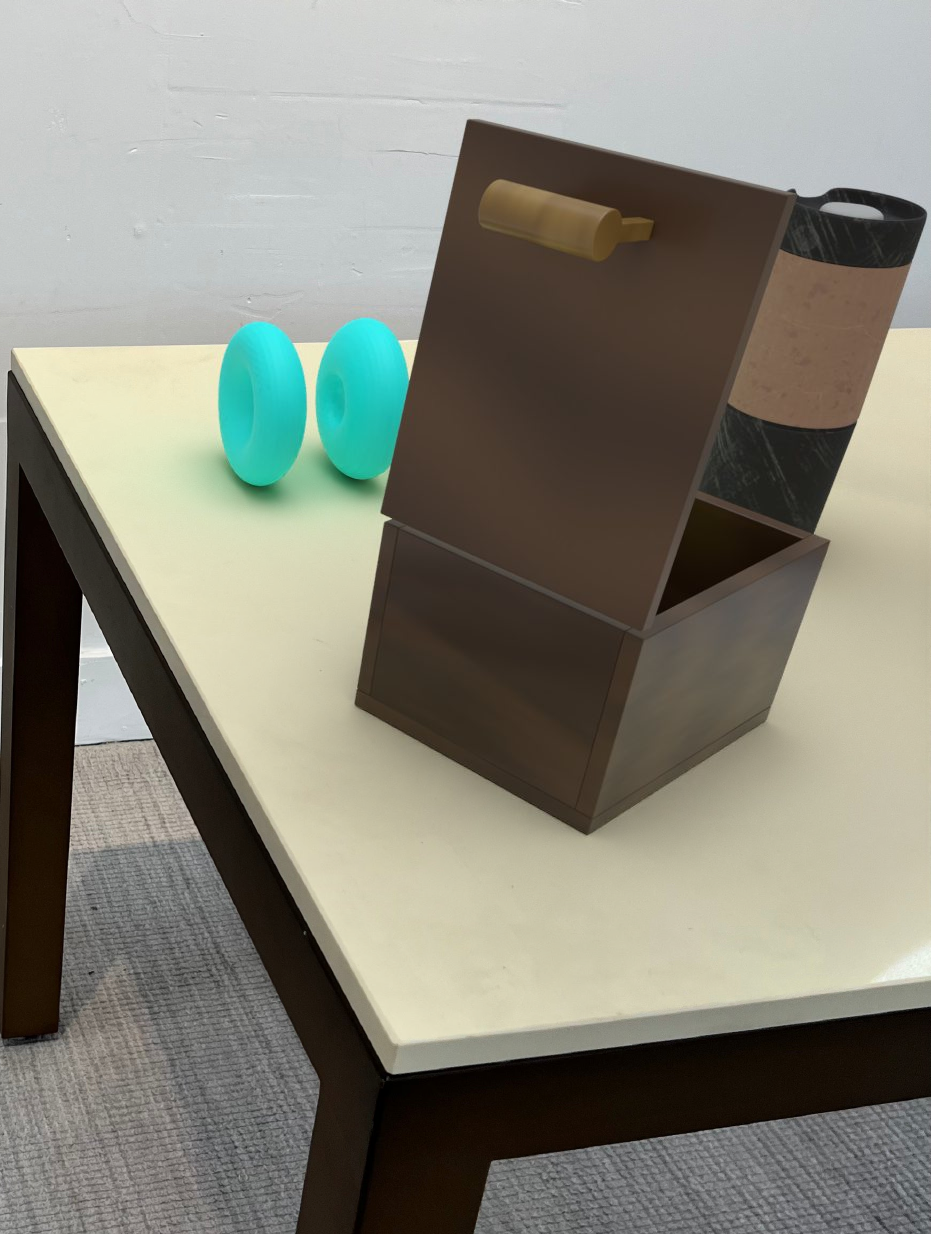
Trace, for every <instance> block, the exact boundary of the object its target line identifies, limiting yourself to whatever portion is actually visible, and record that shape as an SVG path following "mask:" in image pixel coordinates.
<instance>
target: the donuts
mask: <svg viewBox="0 0 931 1234" xmlns="http://www.w3.org/2000/svg"><path fill="white" fill-rule="evenodd" d="M402 348H403V347H402V346H401V344H400V341H399V340H398V338H397V336H396V335H395V333H394V332H393V331H392V330H391V329H390V328H389V326H388V325H386V324H385V323H384V322H382V321H380V320H378V319H375V318H371V317H359V318H356V319H352V320H350V321H349V322H346V323H345V324H344V325H342V326H341V327H340V328H339V329H338V330H337V331H336V332H335V333H334V334H333V336H332V337H331V338H330V340H329V342H328V343H327V345H326V347H325V350H324V351H323V354H322V357H321V359H320V363H319V367H318V371H317V375H316V376H317V377H316V382H315V395H314V396H315V397H314V398H315V399H314V402H315V403H314V404H315V418H316V425H317V431H318V433H319V434H318V435H319V437H320V440H321V443H322V446H323V449H324V451H325V453H326V455H327V457H328V459H329V460H330V462H331V463H332V464H333V466H334V467H335V468H336V469H338V471H340V473H342V474H343V475H345V476H347V477H349V478H352V479H354V480H355V479H356V480H362V481H363V480H370V479H374V478H376V477H379V476H381V475H382V474H384V473H385V472H386V471H387V470H388V469H390V466H391V462H392V457H393V453H394V448H395V444H396V439H397V434H398V430H399V425H400V421H401V416H402V412H403V407H404V403H405V398H406V394H407V389H408V385H409V380H410V376H409V370H408V366H407V365H408V364H407V361H406V358H405V354H404V351H403V349H402ZM222 357H223V358H222V363H221V366H220V371H219V376H218V377H219V378H218V390H217V391H218V392H217V397H218V399H217V403H218V404H217V411H218V423H219V424H218V425H219V430H220V437H221V442H222V445H223V449H224V453H225V455H226V459H227V461H228V463H229V465H230V467H231V469H232V470H233V472H234V473H235V474H236V475H237V476H238V478H240V479H241V480H242V481H243V482H245V483H247V484H249V485H251V486H256V487H265V486H268V485H273V484H274V483H276V482H278V481H279V480H281V479H282V478H284V476H285V475H286V474H288V472H289V471H290V470H291V468H292V467H293V465H294V463H295V462H296V459H297V458H298V455H299V453H300V451H301V448H302V444H303V441H304V438H305V432H306V431H305V430H306V425H307V415H308V414H307V413H308V395H307V393H308V392H307V386H306V385H307V384H306V377H305V372H304V368H303V365H302V360H301V359H300V358H301V357H300V356H299V354H298V351H297V348H296V347H295V345H294V343H293V342H292V340H291V339H290V337H289V336H288V335H287V334H286V333H285V332H284V331H283V330H282V329H280V327H278V326H277V325H274V324H272V323H271V322H266V321H252V322H250V323H249V322H248V323H247V324H245V325H244V326H242V327H240V328H239V329H238V330H237V331H236V332H235V333H234V334H233V336H232V337H231V339H229V342H228V344H227V346H226V348H225V352H224V354H223V356H222Z"/></svg>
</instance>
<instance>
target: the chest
mask: <svg viewBox="0 0 931 1234" xmlns="http://www.w3.org/2000/svg"><path fill="white" fill-rule="evenodd" d="M830 544H831V540H830V539H828V538H826V537H822V536H820V535H817V534H815V533H814V534H811V533H809V532H806V531H803V530H801V529H798V528H796V527H793V526H790V525H788V524H785V523H782V522H780V521H777V520H774V519H772V518H769V517H767V516H764V515H761V514H759V513H756V512H753V511H751V510H748V509H745V508H743V507H740V506H737V505H735V504H732V503H730V502H727V501H724V500H722V499H719V498H716V497H714V496H711V495H708V494H706V493H703V492H700V491H697V494H696V497H695V500H694V503H693V506H692V509H691V512H690V515H689V518H688V521H687V524H686V527H685V530H684V532H683V535H682V538H681V541H680V544H679V547H678V550H677V553H676V556H675V559H674V562H673V565H672V568H671V571H670V574H669V577H668V580H667V583H666V586H665V589H664V592H663V595H662V597H661V600H660V603H659V606H658V609H657V612H656V615H655V618H654V621H653V624H652V627H651V628H650V629H647V630H645V631H639V630H636V629H634V628H632V627H630V626H628V625H625V624H623V623H621V622H619V621H617V620H614V619H612V618H610V617H608V616H606V615H603V614H601V613H599V612H597V611H595V610H592V609H590V608H588V607H586V606H583V605H581V604H579V603H577V602H575V601H572V600H570V599H568V598H566V597H564V596H561V595H559V594H557V593H555V592H553V591H550V590H548V589H546V588H544V587H542V586H539V585H537V584H535V583H533V582H531V581H528V580H526V579H524V578H522V577H520V576H517V575H515V574H513V573H511V572H509V571H506V570H504V569H502V568H500V567H498V566H495V565H493V564H491V563H489V562H486V561H484V560H482V559H480V558H478V557H475V556H473V555H471V554H469V553H467V552H464V551H462V550H460V549H458V548H456V547H453V546H451V545H449V544H447V543H445V542H442V541H440V540H438V539H436V538H434V537H431V536H429V535H427V534H425V533H423V532H420V531H418V530H416V529H414V528H412V527H409V526H407V525H405V524H403V523H400V522H398V521H396V520H394V519H392V518H390V519H388V520H384V522H383V526H382V532H381V538H380V544H379V551H378V557H377V563H376V569H375V575H374V580H373V581H374V582H373V586H372V593H371V599H370V605H369V611H368V619H367V623H366V624H367V625H366V630H365V636H364V642H363V647H362V654H361V659H360V660H361V661H360V667H359V673H358V679H357V686H356V691H355V698H354V705H355V706H357V707H359V708H361V709H363V710H364V711H366V712H368V713H369V714H371V715H373V716H374V717H376V718H378V719H380V720H381V721H383V722H386V723H387V724H389V725H391V726H392V727H395V728H396V729H398V730H400V731H401V732H404V733H405V734H407V735H409V736H411V737H412V738H414V739H416V740H418V741H420V742H421V743H423V744H425V745H426V746H428V747H430V748H432V749H434V750H435V751H437V752H439V753H440V754H443V755H445V756H446V757H448V758H449V759H452V760H453V761H455V762H457V763H458V764H460V765H462V766H464V767H466V768H467V769H469V770H471V771H472V772H475V773H476V774H478V775H480V776H482V777H483V778H485V779H487V780H489V781H490V782H492V783H495V784H496V785H497V786H499V787H502V788H503V789H505V790H507V791H509V792H510V793H512V794H514V795H516V796H517V797H519V798H521V799H523V800H524V801H526V802H529V804H532V805H533V806H535V807H536V808H539V809H541V810H542V811H544V812H546V813H548V814H549V815H551V816H553V817H555V818H557V819H558V820H560V821H562V822H564V823H566V824H567V825H569V826H571V827H572V828H575V830H578V831H579V832H582V833H583V834H585V835H590V834H591V833H592V832H594V831H596V830H597V829H598V828H600V827H602V826H603V825H605V824H606V823H608V822H610V821H612V819H614V818H616V817H618V816H619V815H620V814H622V813H624V812H625V811H627V810H628V809H629V808H631V807H633V806H635V804H638V803H639V802H641V801H642V800H644V799H645V798H647V797H648V796H650V795H652V794H653V793H655V792H656V791H657V790H660V789H661V788H663V787H664V786H666V785H667V784H669V783H670V782H672V781H674V780H675V779H677V778H678V777H679V776H681V775H683V774H684V773H686V772H687V771H689V770H690V769H692V768H694V767H695V766H697V765H698V764H700V763H702V762H703V761H704V760H706V759H708V758H709V757H710V756H712V755H714V754H716V753H717V752H719V751H720V750H722V749H724V747H726V746H728V745H730V744H732V743H733V742H735V741H736V740H738V739H739V738H740V737H742V736H744V735H745V734H747V733H748V732H750V731H751V730H753V729H754V728H756V727H757V726H759V725H761V724H762V723H763V722H765V721H767V720H768V717H769V714H770V711H771V709H772V705H773V704H774V701H775V698H776V695H777V692H778V689H779V687H780V684H781V681H782V678H783V676H784V673H785V670H786V667H787V664H788V661H789V659H790V656H791V653H792V652H793V651H792V650H793V647H794V645H795V642H796V639H797V636H798V633H799V631H800V628H801V625H802V623H803V621H804V620H803V619H804V617H805V615H806V611H807V609H808V605H809V603H810V600H811V598H812V594H813V591H814V590H815V586H816V583H817V580H818V578H819V575H820V572H821V570H822V567H823V563H824V561H825V558H826V555H827V553H828V550H829V547H830Z"/></svg>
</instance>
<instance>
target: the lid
mask: <svg viewBox="0 0 931 1234" xmlns="http://www.w3.org/2000/svg"><path fill="white" fill-rule="evenodd" d="M796 193H797V192H796ZM796 193H791V192H787V190H783V189H779V188H778V189H777V188H775V187H774V188H773V187H770V186H766V185H761V184H757V183H753V182H748V181H744V180H739V179H735V178H732V177H727V176H723V175H719V174H714V173H710V172H705V171H703V170H702V171H701V170H697V169H693V168H689V167H685V166H680V165H676V164H671V163H668V162H664V161H659V160H655V159H650V158H646V157H642V156H638V155H634V154H629V153H624V152H620V151H617V150H612V149H608V148H604V147H600V146H595V145H592V144H587V143H583V142H578V141H574V140H570V139H565V138H561V137H557V136H553V135H550V134H549V135H548V134H544V133H539V132H535V131H531V130H528V129H523V128H518V127H515V126H510V125H506V124H501V123H499V122H498V123H497V122H494V121H488V120H484V119H480V118H468V119H467V120H466V122H465V127H464V132H463V136H462V140H461V144H460V149H459V154H458V158H457V164H456V168H455V172H454V177H453V181H452V185H451V190H450V194H449V199H448V204H447V208H446V213H445V217H444V222H443V226H442V231H441V236H440V240H439V244H438V249H437V253H436V258H435V262H434V267H433V271H432V276H431V281H430V285H429V290H428V293H427V299H426V303H425V309H424V312H423V318H422V322H421V325H420V326H421V327H420V331H419V334H418V335H419V336H418V340H417V345H416V348H415V353H414V358H413V363H412V367H411V371H410V376H409V385H408V389H407V394H406V398H405V403H404V407H403V412H402V416H401V421H400V425H399V430H398V434H397V439H396V444H395V448H394V453H393V457H392V462H391V466H390V467H389V472H388V476H387V480H386V484H385V488H384V489H385V490H384V494H383V499H382V503H381V506H380V507H381V508H380V514H381V515H383V516H385V517H387V518H390V519H394V520H396V521H398V522H400V523H403V524H405V525H407V526H409V527H412V528H414V529H416V530H418V531H420V532H423V533H425V534H427V535H429V536H431V537H434V538H436V539H438V540H440V541H442V542H445V543H447V544H449V545H451V546H453V547H456V548H458V549H460V550H462V551H464V552H467V553H469V554H471V555H473V556H475V557H478V558H480V559H482V560H484V561H486V562H489V563H491V564H493V565H495V566H498V567H500V568H502V569H504V570H506V571H509V572H511V573H513V574H515V575H517V576H520V577H522V578H524V579H526V580H528V581H531V582H533V583H535V584H537V585H539V586H542V587H544V588H546V589H548V590H550V591H553V592H555V593H557V594H559V595H561V596H564V597H566V598H568V599H570V600H572V601H575V602H577V603H579V604H581V605H583V606H586V607H588V608H590V609H592V610H595V611H597V612H599V613H601V614H603V615H606V616H608V617H610V618H612V619H614V620H617V621H619V622H621V623H623V624H625V625H628V626H630V627H632V628H634V629H636V630H639V631H645V630H647V629H650V628H651V627H652V624H653V621H654V618H655V615H656V612H657V609H658V606H659V603H660V600H661V597H662V595H663V592H664V589H665V586H666V583H667V580H668V577H669V574H670V571H671V568H672V565H673V562H674V559H675V556H676V553H677V550H678V547H679V544H680V541H681V538H682V535H683V532H684V530H685V527H686V524H687V521H688V518H689V515H690V512H691V509H692V506H693V503H694V500H695V497H696V494H697V491H698V488H699V485H700V482H701V479H702V476H703V473H704V470H705V467H706V465H707V462H708V459H709V456H710V453H711V450H712V447H713V444H714V441H715V438H716V435H717V432H718V429H719V426H720V423H721V420H722V417H723V414H724V411H725V408H726V405H727V402H728V399H729V397H730V394H731V391H732V388H733V385H734V382H735V379H736V376H737V373H738V370H739V367H740V364H741V361H742V358H743V355H744V352H745V349H746V346H747V343H748V340H749V337H750V334H751V332H752V329H753V326H754V323H755V320H756V317H757V314H758V311H759V308H760V305H761V302H762V299H763V296H764V293H765V290H766V287H767V284H768V281H769V278H770V275H771V272H772V269H773V266H774V264H775V261H776V258H777V255H778V252H779V249H780V246H781V243H782V240H783V237H784V234H785V231H786V228H787V225H788V222H789V219H790V216H791V213H792V210H793V207H794V204H795V201H796V199H797V194H798V193H797V194H796Z"/></svg>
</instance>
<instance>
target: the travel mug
mask: <svg viewBox="0 0 931 1234" xmlns="http://www.w3.org/2000/svg"><path fill="white" fill-rule="evenodd" d="M786 191H787V192H791V193H796V194H797V199H796V201H795V204H794V207H793V210H792V213H791V216H790V219H789V222H788V225H787V228H786V231H785V234H784V237H783V240H782V243H781V246H780V249H779V252H778V255H777V258H776V261H775V264H774V266H773V269H772V272H771V275H770V278H769V281H768V284H767V287H766V290H765V293H764V296H763V299H762V302H761V305H760V308H759V311H758V314H757V317H756V320H755V323H754V326H753V329H752V332H751V334H750V337H749V340H748V343H747V346H746V349H745V352H744V355H743V358H742V361H741V364H740V367H739V370H738V373H737V376H736V379H735V382H734V385H733V388H732V391H731V394H730V397H729V399H728V402H727V405H726V408H725V411H724V414H723V417H722V420H721V423H720V426H719V429H718V432H717V435H716V438H715V441H714V444H713V447H712V450H711V453H710V456H709V459H708V462H707V465H706V467H705V470H704V473H703V476H702V479H701V482H700V485H699V488H698V491H700V492H703V493H706V494H708V495H711V496H714V497H716V498H719V499H722V500H724V501H727V502H730V503H732V504H735V505H737V506H740V507H743V508H745V509H748V510H751V511H753V512H756V513H759V514H761V515H764V516H767V517H769V518H772V519H774V520H777V521H780V522H782V523H785V524H788V525H790V526H793V527H796V528H798V529H801V530H803V531H806V532H809V533H811V534H815V532H816V529H817V527H818V524H819V522H820V519H821V517H822V513H823V512H824V508H825V507H826V503H827V501H828V499H829V496H830V494H831V491H832V488H833V486H834V484H835V481H836V478H837V475H838V473H839V470H840V468H841V466H842V462H843V460H844V457H845V455H846V452H847V450H848V447H849V445H850V442H851V440H852V437H853V434H854V432H855V429H856V427H857V424H858V420H859V419H860V416H861V413H862V410H863V407H864V404H865V402H866V399H867V397H868V392H869V390H870V387H871V384H872V381H873V378H874V375H875V372H876V369H877V366H878V364H879V360H880V357H881V354H882V352H883V349H884V347H885V346H884V345H885V343H886V340H887V337H888V335H889V331H890V329H891V325H892V322H893V319H894V316H895V314H896V310H897V308H898V305H899V303H900V300H901V299H900V298H901V296H902V293H903V290H904V287H905V284H906V281H907V278H908V276H909V272H910V270H911V267H912V264H913V260H914V257H915V255H916V252H917V250H918V246H919V243H920V240H921V238H922V235H923V232H924V228H925V226H926V223H927V218H928V211H927V210H926V209H925V208H924V207H923V206H921V205H920V204H918V203H916V202H914V201H910V200H907V199H905V198H902V197H898V196H896V195H891V194H886V193H882V192H878V191H874V190H873V191H872V190H867V189H860V188H852V187H833V188H830V189H829V190H826V192H824V193H823V194H822V195H817V196H801V195H799V194H798V192H797V189H796V188H789V189H787V190H786Z"/></svg>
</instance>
